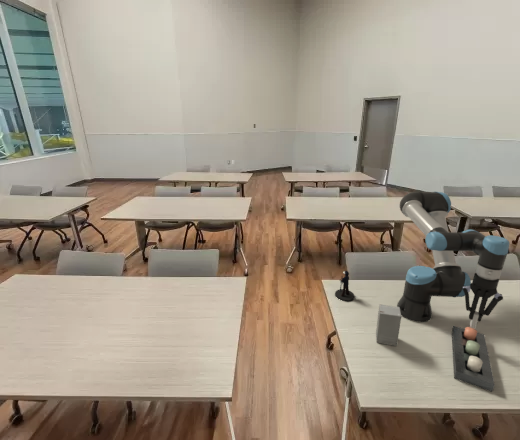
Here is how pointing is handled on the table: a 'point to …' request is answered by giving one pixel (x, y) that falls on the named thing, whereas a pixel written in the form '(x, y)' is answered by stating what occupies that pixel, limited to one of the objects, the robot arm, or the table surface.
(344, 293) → the figurine
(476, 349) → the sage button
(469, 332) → the coral button
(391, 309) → the skincare box
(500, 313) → the table surface
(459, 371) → the panel
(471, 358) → the white glossy ball
